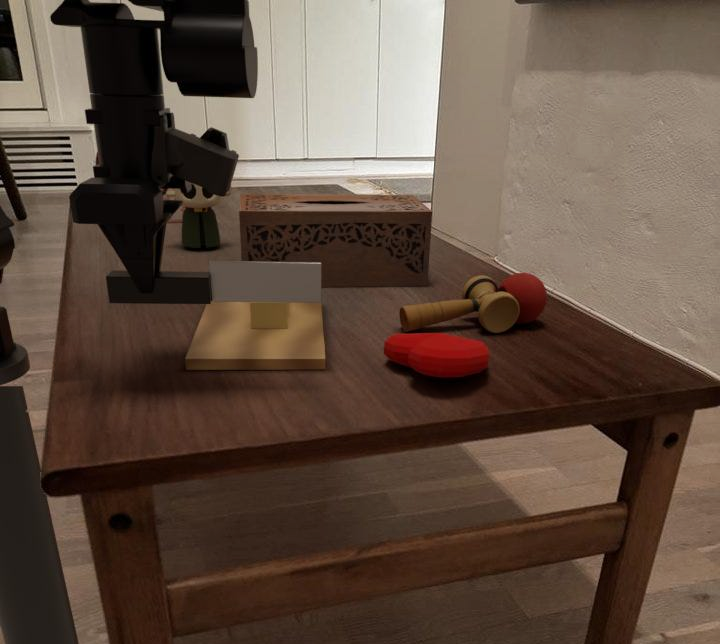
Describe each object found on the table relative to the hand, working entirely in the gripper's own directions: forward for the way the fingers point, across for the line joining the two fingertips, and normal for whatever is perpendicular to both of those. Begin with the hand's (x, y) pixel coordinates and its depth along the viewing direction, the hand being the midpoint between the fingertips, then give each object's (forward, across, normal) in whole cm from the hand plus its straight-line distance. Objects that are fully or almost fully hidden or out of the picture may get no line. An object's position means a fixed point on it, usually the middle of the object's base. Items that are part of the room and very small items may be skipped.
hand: (149, 289), depth 67 cm
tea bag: (+9, +83, +11) cm, 84 cm away
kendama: (+9, +18, -34) cm, 39 cm away
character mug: (+9, +59, +4) cm, 60 cm away
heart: (+9, +3, -28) cm, 30 cm away
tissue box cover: (+9, +42, -17) cm, 47 cm away
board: (+9, +14, -9) cm, 19 cm away
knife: (+1, 0, -6) cm, 6 cm away
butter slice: (+8, +14, -10) cm, 19 cm away
